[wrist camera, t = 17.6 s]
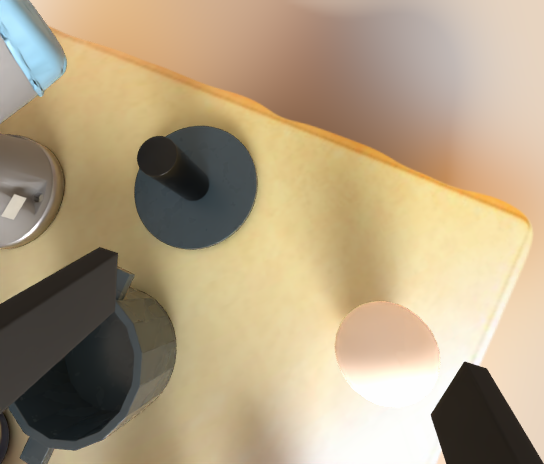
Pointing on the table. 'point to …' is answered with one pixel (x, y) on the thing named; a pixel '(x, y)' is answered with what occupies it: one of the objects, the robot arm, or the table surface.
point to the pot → (100, 378)
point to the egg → (387, 354)
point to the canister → (3, 437)
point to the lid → (194, 186)
